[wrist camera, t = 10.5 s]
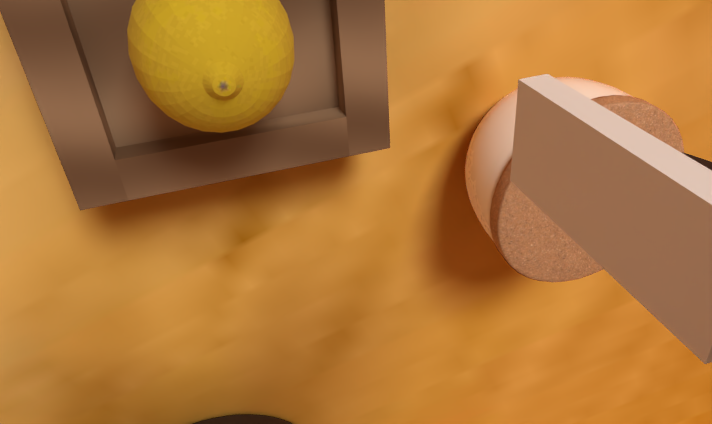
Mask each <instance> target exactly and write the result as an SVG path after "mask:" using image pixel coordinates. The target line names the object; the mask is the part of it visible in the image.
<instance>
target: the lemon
mask: <svg viewBox="0 0 712 424" xmlns="http://www.w3.org/2000/svg"><path fill="white" fill-rule="evenodd" d="M127 35H128V52H129V57H130V60H131V63H132V66H133V69H134V72H135V75H136V78H137V80H138V81H139V83H140V84H141V86H142V88H143V89H144V91H145V92H146V94H147V95H148V97H149V98H150V100H151V101H152V102H153V103H154V104H155V105H157V106H158V107H159V108H160V109H161V110H162V111H163V112H164V113H165V114H166V115H167V116H169V117H171V118H172V119H174V120H176V121H178V122H179V123H181V124H183V125H184V126H188V127H191V128H194V129H197V130H201V131H204V132H220V133H223V132H229V131H235V130H240V129H242V128H245V127H247V126H250V125H252V124H255V123H256V122H258V121H259V120H260V119H262V118H263V117H265V116H266V115H267V114H269V113H270V112H271V111H272V109H273V108H274V107H275V106H276V105H277V104H278V102H279V101H280V100H281V99H282V97H283V95H284V93H285V91H286V89H287V87H288V85H289V82H290V79H291V75H292V70H293V65H294V60H295V59H294V36H293V32H292V29H291V26H290V22H289V19H288V15H287V13H286V11H285V9H284V7H283V6H282V4H281V2H280V1H279V0H136V1H135V2H134V4H133V6H132V10H131V15H130V19H129V24H128V28H127Z"/></svg>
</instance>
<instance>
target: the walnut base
mask: <svg viewBox="0 0 712 424" xmlns="http://www.w3.org/2000/svg"><path fill="white" fill-rule="evenodd" d="M135 1H136V0H0V12H1V14H2V17H3V19H4V22H5V24H6V27H7V29H8V32H9V34H10V37H11V39H12V42H13V44H14V46H15V49H16V51H17V54H18V56H19V59H20V61H21V64H22V66H23V69H24V71H25V74H26V76H27V79H28V81H29V84H30V86H31V89H32V91H33V94H34V96H35V99H36V101H37V104H38V106H39V109H40V111H41V114H42V116H43V119H44V121H45V124H46V126H47V129H48V131H49V134H50V136H51V139H52V141H53V144H54V146H55V149H56V151H57V154H58V156H59V159H60V161H61V164H62V166H63V169H64V171H65V174H66V176H67V179H68V181H69V184H70V186H71V189H72V191H73V194H74V196H75V199H76V201H77V203H78V206H79V208H80V210H84V209H89V208H94V207H99V206H104V205H109V204H114V203H119V202H124V201H129V200H134V199H139V198H144V197H149V196H154V195H159V194H164V193H168V192H173V191H178V190H183V189H188V188H193V187H198V186H203V185H208V184H213V183H218V182H223V181H228V180H233V179H238V178H243V177H248V176H253V175H258V174H263V173H268V172H273V171H278V170H283V169H288V168H293V167H298V166H303V165H308V164H313V163H317V162H322V161H327V160H332V159H337V158H342V157H347V156H352V155H357V154H362V153H367V152H372V151H377V150H382V149H387V148H390V133H389V107H388V81H387V55H386V29H385V3H384V0H279V1H280V2H281V4H282V6H283V7H284V9H285V11H286V13H287V15H288V19H289V22H290V26H291V29H292V32H293V36H294V59H295V60H294V65H293V70H292V75H291V79H290V82H289V85H288V87H287V89H286V91H285V93H284V95H283V97H282V99H281V100H280V101H279V102H278V104H277V105H276V106H275V107H274V108H273V109H272V111H271V112H270V113H269V114H267V115H266V116H265V117H263V118H262V119H260V120H259V121H258V122H256V123H255V124H252V125H250V126H247V127H245V128H242V129H240V130H235V131H229V132H223V133H220V132H204V131H201V130H197V129H194V128H191V127H188V126H184V125H183V124H181V123H179V122H178V121H176V120H174V119H172V118H171V117H169V116H167V115H166V114H165V113H164V112H163V111H162V110H161V109H160V108H159V107H158V106H157V105H155V104H154V103H153V102H152V101H151V100H150V98H149V97H148V95H147V94H146V92H145V91H144V89H143V88H142V86H141V84H140V83H139V81H138V80H137V78H136V75H135V72H134V69H133V66H132V63H131V60H130V57H129V52H128V35H127V28H128V24H129V19H130V15H131V10H132V6H133V4H134V2H135Z"/></svg>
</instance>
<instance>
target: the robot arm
mask: <svg viewBox="0 0 712 424" xmlns="http://www.w3.org/2000/svg"><path fill="white" fill-rule="evenodd" d="M510 181H511V182H512V183H513V184H514V185H515V186H517V187H518V188H519V189H520V190H521V191H522V192H523V193H524V194H525V195H526V196H527V197H528V198H529V199H530V200H531V201H532V202H534V203H535V204H536V205H537V206H538V207H539V208H540V209H541V210H542V211H543V212H544V213H545V214H546V215H547V216H548V217H549V218H551V219H552V220H553V221H554V222H555V223H556V224H557V225H558V226H559V227H560V228H561V229H562V230H563V231H564V232H565V233H566V234H568V235H569V236H570V237H571V238H572V239H573V240H574V241H575V242H576V243H577V244H578V245H579V246H580V247H581V248H582V249H583V250H584V251H586V252H587V253H588V254H589V255H590V256H591V257H592V258H593V259H594V260H595V261H596V262H597V263H598V264H599V265H600V266H601V267H603V268H604V269H605V270H606V271H607V272H608V273H609V274H610V275H611V276H612V277H613V278H614V279H615V280H616V281H617V282H618V283H620V284H621V285H622V286H623V287H624V288H625V289H626V290H627V291H628V292H629V293H630V294H631V295H632V296H633V297H634V298H635V299H637V300H638V301H639V302H640V303H641V304H642V305H643V306H644V307H645V308H646V309H647V310H648V311H649V312H650V313H651V314H652V315H654V316H655V317H656V318H657V319H658V320H659V321H660V322H661V323H662V324H663V325H664V326H665V327H666V328H667V329H668V330H669V331H671V332H672V333H673V334H674V335H675V336H676V337H677V338H678V339H679V340H680V341H681V342H682V343H683V344H684V345H685V346H686V347H688V348H689V349H690V350H691V351H692V352H693V353H694V354H695V355H696V356H697V357H698V358H699V359H700V360H701V361H702V362H703V363H705V364H707V363H710V362H712V162H710V161H707V160H704V159H701V158H698V157H695V156H692V155H689V154H686V153H683V152H682V153H681V152H679V151H678V150H676V149H674V148H673V147H671V146H669V145H668V144H666V143H664V142H662V141H661V140H659V139H657V138H656V137H654V136H652V135H651V134H649V133H647V132H645V131H644V130H642V129H640V128H639V127H637V126H635V125H634V124H632V123H630V122H628V121H627V120H625V119H623V118H622V117H620V116H618V115H617V114H615V113H613V112H611V111H610V110H608V109H606V108H605V107H603V106H601V105H600V104H598V103H596V102H594V101H593V100H591V99H589V98H588V97H586V96H584V95H583V94H581V93H579V92H577V91H576V90H574V89H572V88H571V87H569V86H567V85H566V84H564V83H562V82H560V81H559V80H557V79H555V78H554V77H552V76H550V75H549V74H544V75H539V76H534V77H529V78H523V79H519V80H518V92H517V104H516V116H515V128H514V140H513V151H512V163H511V175H510ZM194 424H292V423H290V422H288V421H285V420H282V419H279V418H275V417H270V416H263V415H230V416H223V417H217V418H212V419H208V420H204V421H200V422H197V423H194Z"/></svg>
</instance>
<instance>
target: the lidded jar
mask: <svg viewBox="0 0 712 424" xmlns="http://www.w3.org/2000/svg"><path fill="white" fill-rule="evenodd" d="M555 79H557V80H559V81H560V82H562V83H564V84H566V85H567V86H569V87H571V88H572V89H574V90H576V91H577V92H579V93H581V94H583V95H584V96H586V97H588V98H589V99H591V100H593V101H594V102H596V103H598V104H600V105H601V106H603V107H605V108H606V109H608V110H610V111H611V112H613V113H615V114H617V115H618V116H620V117H622V118H623V119H625V120H627V121H628V122H630V123H632V124H634V125H635V126H637V127H639V128H640V129H642V130H644V131H645V132H647V133H649V134H651V135H652V136H654V137H656V138H657V139H659V140H661V141H662V142H664V143H666V144H668V145H669V146H671V147H673V148H674V149H676V150H678V151H679V152H681V153H682V152H683V153H684V148H683V141H682V138H681V135H680V132H679V129H678V127H677V126H676V124H675V123H674V121H673V120H672V118H671V117H669V116H668V115H667V114H666V113H665V112H664V111H663V110H661V109H659V108H657V107H656V106H654V105H652V104H650V103H648V102H646V101H644V100H642V99H638V98H635V97H632V96H631V95H629V94H627V93H625V92H623V91H621V90H619V89H617V88H615V87H612V86H609V85H606V84H603V83H600V82H596V81H593V80H588V79H583V78H575V77H556V78H555ZM517 92H518V89H516V90H514V91H513V92H511V93H509V94H508V95H506V96H505V97H504V98H502V99H501V100H500V101H499V102H497V103H496V104H495V105H494V106H493V107H492V108H491V109H490V110H489V111H488V112H487V114H486V115H485V116H484V117H483V119H482V120H481V122H480V124H479V125H478V127H477V128H476V130H475V132H474V134H473V137H472V139H471V141H470V145H469V148H468V152H467V157H466V164H465V179H466V187H467V192H468V196H469V199H470V202H471V204H472V207H473V209H474V211H475V214H476V216H477V218H478V220H479V221H480V223H481V225H482V227H483V228H484V230H485V231H486V232H487V234H488V235H489V236H490V238H491V239H492V240H493V242H494V243H495V245H496V247H497V249H498V251H499V252H500V253H501V255H502V256H503V257H504V259H505V260H506V261H507V263H508V264H509V265H510V266H511V267H512V268H513V269H515V270H516V271H517V272H518V273H520V274H522V275H524V276H526V277H528V278H531V279H535V280H538V281H547V282H562V281H569V280H575V279H579V278H582V277H585V276H588V275H591V274H593V273H596V272H598V271H600V270H603V269H604V268H603V267H601V266H600V265H599V264H598V263H597V262H596V261H595V260H594V259H593V258H592V257H591V256H590V255H589V254H588V253H587V252H586V251H584V250H583V249H582V248H581V247H580V246H579V245H578V244H577V243H576V242H575V241H574V240H573V239H572V238H571V237H570V236H569V235H568V234H566V233H565V232H564V231H563V230H562V229H561V228H560V227H559V226H558V225H557V224H556V223H555V222H554V221H553V220H552V219H551V218H549V217H548V216H547V215H546V214H545V213H544V212H543V211H542V210H541V209H540V208H539V207H538V206H537V205H536V204H535V203H534V202H532V201H531V200H530V199H529V198H528V197H527V196H526V195H525V194H524V193H523V192H522V191H521V190H520V189H519V188H518V187H517V186H515V185H514V184H513V183H512V182H511V181H510V175H511V163H512V151H513V140H514V128H515V116H516V104H517Z"/></svg>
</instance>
